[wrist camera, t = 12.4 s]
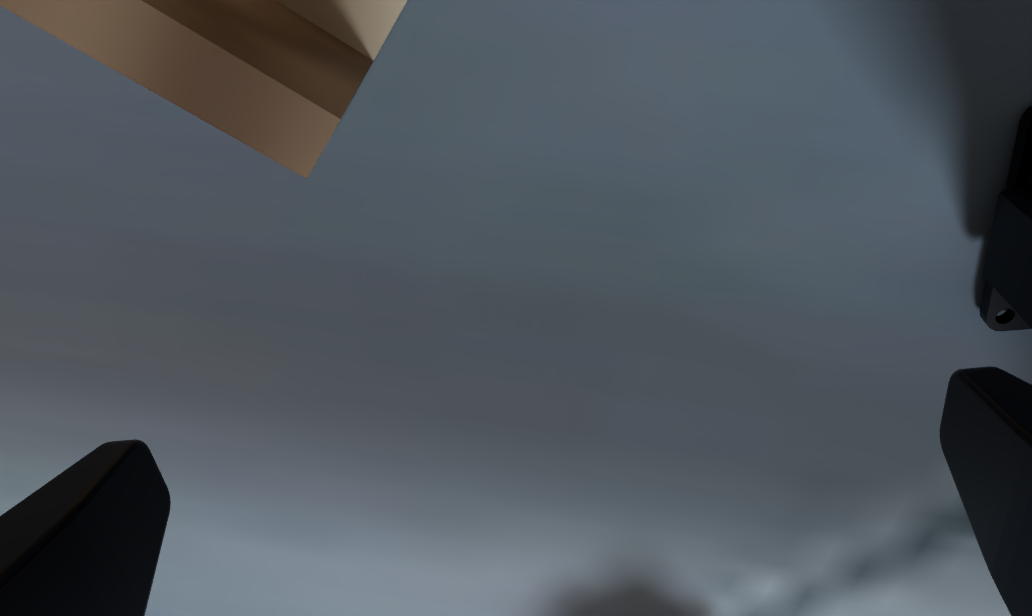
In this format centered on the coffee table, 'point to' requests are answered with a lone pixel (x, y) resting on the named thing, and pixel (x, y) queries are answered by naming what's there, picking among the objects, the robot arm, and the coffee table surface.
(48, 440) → the coffee table surface
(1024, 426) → the robot arm
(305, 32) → the brown open-ended tray
